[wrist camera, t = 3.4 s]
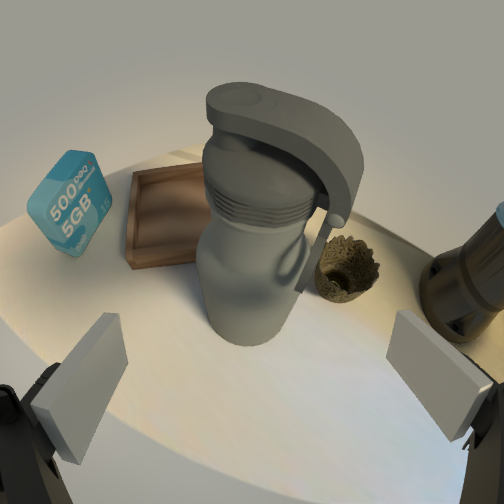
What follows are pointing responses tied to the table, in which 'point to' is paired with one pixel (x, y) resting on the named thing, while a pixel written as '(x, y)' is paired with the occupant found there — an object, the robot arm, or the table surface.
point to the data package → (71, 202)
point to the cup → (345, 269)
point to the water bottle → (268, 203)
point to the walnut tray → (166, 216)
